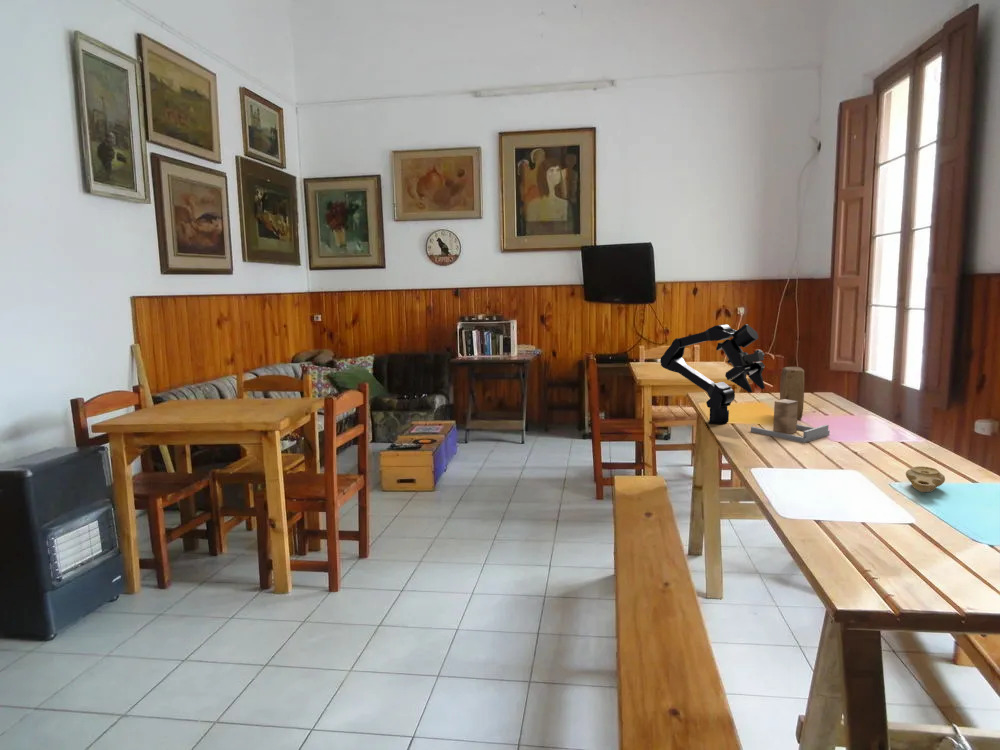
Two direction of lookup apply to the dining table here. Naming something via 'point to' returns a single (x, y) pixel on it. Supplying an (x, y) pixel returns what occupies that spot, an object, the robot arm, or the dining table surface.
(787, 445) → the dining table surface
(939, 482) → the oil lamp
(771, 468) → the dining table surface
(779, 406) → the slider
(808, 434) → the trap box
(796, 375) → the block
